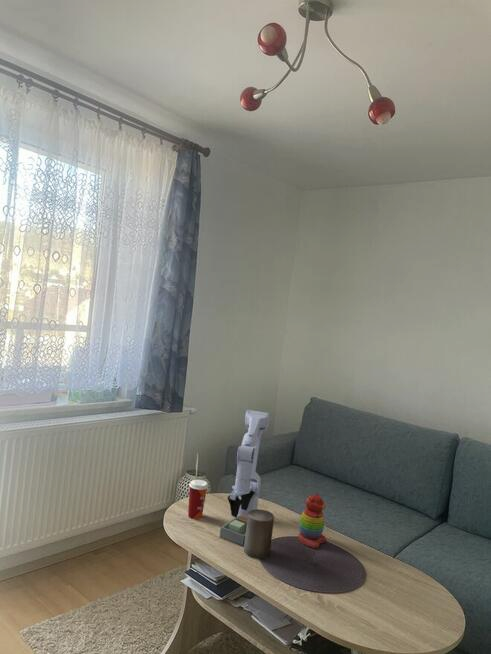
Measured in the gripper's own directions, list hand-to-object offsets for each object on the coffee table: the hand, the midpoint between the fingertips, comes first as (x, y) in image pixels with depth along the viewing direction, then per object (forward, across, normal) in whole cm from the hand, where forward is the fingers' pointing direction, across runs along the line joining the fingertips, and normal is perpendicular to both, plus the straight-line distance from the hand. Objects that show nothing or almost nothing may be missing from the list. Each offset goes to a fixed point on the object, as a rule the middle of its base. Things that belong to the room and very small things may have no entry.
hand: (239, 512), depth 182 cm
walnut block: (+9, -6, 0) cm, 11 cm away
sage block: (+9, 0, 0) cm, 9 cm away
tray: (+10, -3, 0) cm, 10 cm away
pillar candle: (+10, +4, +10) cm, 15 cm away
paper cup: (+10, -5, -22) cm, 25 cm away
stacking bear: (+10, -19, +23) cm, 31 cm away
